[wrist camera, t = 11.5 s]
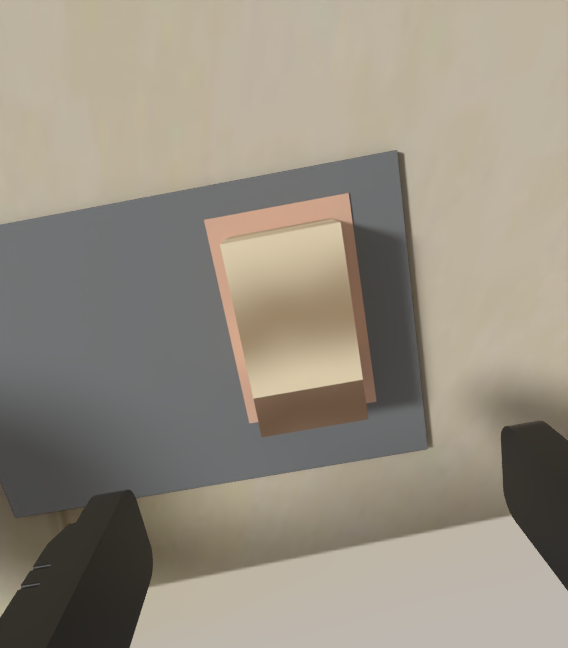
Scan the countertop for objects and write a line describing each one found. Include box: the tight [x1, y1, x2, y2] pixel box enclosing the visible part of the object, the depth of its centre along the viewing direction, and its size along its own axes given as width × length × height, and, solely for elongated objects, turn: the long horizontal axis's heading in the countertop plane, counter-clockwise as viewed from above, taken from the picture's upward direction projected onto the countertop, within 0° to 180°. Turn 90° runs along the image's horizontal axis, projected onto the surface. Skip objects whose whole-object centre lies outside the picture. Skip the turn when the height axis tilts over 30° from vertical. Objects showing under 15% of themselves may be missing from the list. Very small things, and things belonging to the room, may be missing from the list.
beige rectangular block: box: [220, 218, 368, 437], centre depth 21 cm, size 9×5×4 cm, turn 10°
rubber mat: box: [0, 150, 428, 518], centre depth 24 cm, size 24×16×1 cm, turn 100°
